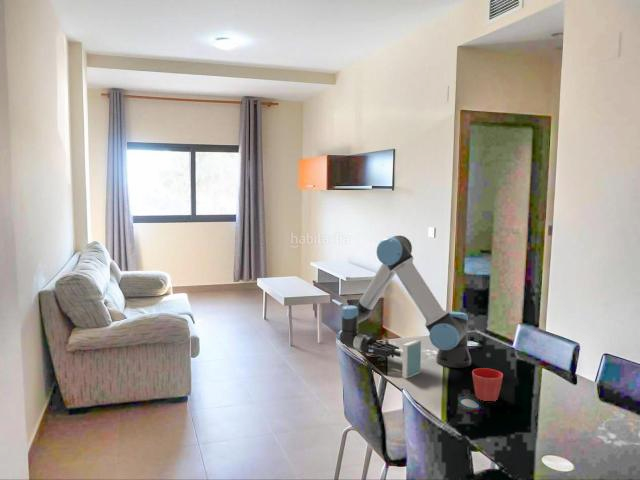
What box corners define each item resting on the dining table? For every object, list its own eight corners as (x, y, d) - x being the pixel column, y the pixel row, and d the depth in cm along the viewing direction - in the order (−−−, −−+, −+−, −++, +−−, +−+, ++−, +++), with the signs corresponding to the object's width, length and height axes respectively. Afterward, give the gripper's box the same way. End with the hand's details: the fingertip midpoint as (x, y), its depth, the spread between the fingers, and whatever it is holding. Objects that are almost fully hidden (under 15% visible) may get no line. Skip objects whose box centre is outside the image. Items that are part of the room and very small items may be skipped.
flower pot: (504, 405, 183) (505, 378, 182) (472, 402, 185) (473, 376, 184) (500, 393, 193) (500, 369, 192) (470, 391, 195) (470, 367, 194)
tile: (416, 371, 218) (417, 339, 216) (421, 372, 216) (421, 340, 215) (402, 377, 211) (402, 344, 209) (406, 378, 209) (407, 345, 208)
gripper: (374, 349, 236) (416, 360, 219) (355, 355, 227) (398, 368, 210) (374, 333, 235) (417, 343, 218) (355, 338, 226) (398, 350, 209)
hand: (407, 355), depth 214 cm, fingers closed
